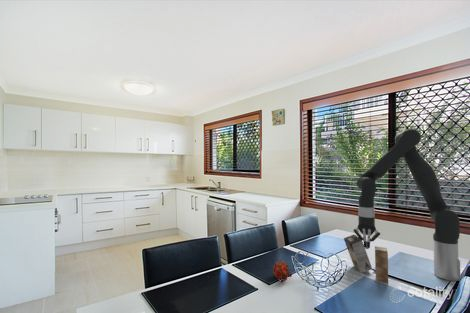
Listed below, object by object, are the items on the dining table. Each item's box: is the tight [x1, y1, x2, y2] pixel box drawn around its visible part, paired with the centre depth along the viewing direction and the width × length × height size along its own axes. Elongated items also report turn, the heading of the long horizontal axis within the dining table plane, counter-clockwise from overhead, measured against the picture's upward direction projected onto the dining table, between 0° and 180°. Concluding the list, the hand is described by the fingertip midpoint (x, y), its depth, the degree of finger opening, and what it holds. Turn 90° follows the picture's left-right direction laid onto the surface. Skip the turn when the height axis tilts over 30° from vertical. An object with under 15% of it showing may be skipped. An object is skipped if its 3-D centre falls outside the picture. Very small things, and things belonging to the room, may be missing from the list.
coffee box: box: [343, 234, 373, 274], centre depth 129 cm, size 9×6×16 cm
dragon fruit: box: [272, 260, 293, 282], centre depth 120 cm, size 8×8×12 cm
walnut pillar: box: [374, 246, 389, 284], centre depth 117 cm, size 5×5×15 cm
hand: (366, 248), depth 128 cm, fingers closed
